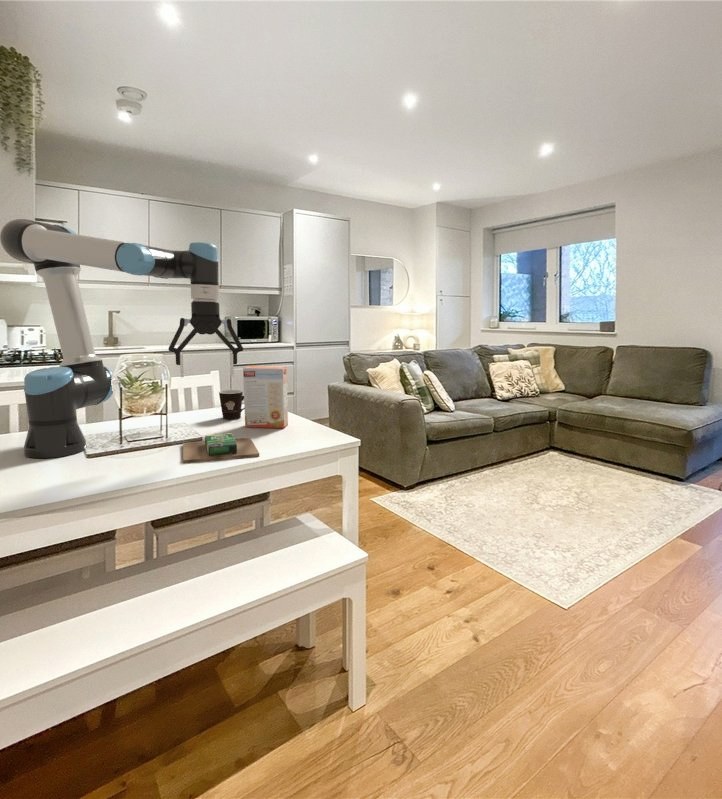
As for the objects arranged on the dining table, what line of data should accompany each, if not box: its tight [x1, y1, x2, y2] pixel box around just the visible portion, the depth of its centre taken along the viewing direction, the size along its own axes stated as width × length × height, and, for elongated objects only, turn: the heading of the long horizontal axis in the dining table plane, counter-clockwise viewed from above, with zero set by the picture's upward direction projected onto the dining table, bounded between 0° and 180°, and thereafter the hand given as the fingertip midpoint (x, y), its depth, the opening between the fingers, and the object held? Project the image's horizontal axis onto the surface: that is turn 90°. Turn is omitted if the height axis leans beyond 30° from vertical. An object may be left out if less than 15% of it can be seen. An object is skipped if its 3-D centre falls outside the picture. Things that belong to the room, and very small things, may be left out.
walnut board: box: [182, 437, 260, 464], centre depth 144 cm, size 20×18×1 cm
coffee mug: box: [218, 389, 245, 421], centre depth 185 cm, size 12×9×10 cm
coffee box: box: [204, 432, 237, 456], centre depth 143 cm, size 8×3×13 cm
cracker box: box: [242, 365, 289, 429], centre depth 172 cm, size 14×6×21 cm, turn 84°
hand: (207, 376), depth 142 cm, fingers open, 13 cm apart
